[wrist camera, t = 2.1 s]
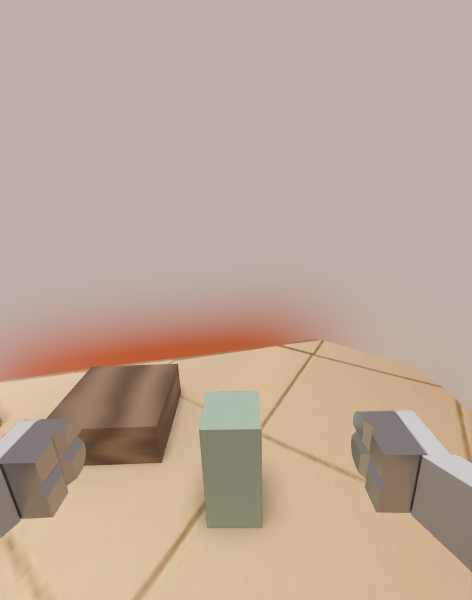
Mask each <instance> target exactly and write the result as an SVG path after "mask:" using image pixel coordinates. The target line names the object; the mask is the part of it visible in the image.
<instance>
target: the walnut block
mask: <svg viewBox="0 0 472 600" xmlns="http://www.w3.org/2000/svg"><path fill="white" fill-rule="evenodd" d="M180 394H181V389H180V380H179V370H178V364H163V365H134V366H106V367H91V368H90V369H89V371H88V372H87V373H86V374H85V375H84V376H83V377H82V379H81V380H80V381H79V382H78V383H77V384H76V385H75V387H74V388H73V389H72V390H71V391H70V392H69V393H68V395H67V396H66V397H65V398H64V399H63V400H62V401H61V403H60V404H59V405H58V406H57V407H56V408H55V409H54V411H53V412H52V413H51V414H50V415H49V416H48V417H47V418H46V419H74V420H77V421H78V422H79V426H80V429H81V431H80V433H79V434H78V437H79V438H80V439H81V440H82V441H83V442H84V444H85V448H86V458H85V462H84V465H83V466H85V465H113V464H141V463H162V459H163V456H164V452H165V448H166V445H167V441H168V437H169V434H170V430H171V426H172V423H173V419H174V416H175V412H176V408H177V405H178V401H179V397H180Z"/></svg>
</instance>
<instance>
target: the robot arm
mask: <svg viewBox="0 0 472 600" xmlns="http://www.w3.org/2000/svg"><path fill="white" fill-rule="evenodd" d="M353 424H354V426H355V428H356V430H357V431H356V432H355V433H354V434H353V435H352V440H351V448H352V456H353V459H354V463H355V465H356V468H357V470H358V472H359V473H360V474H361V475H362V476H364V477H365V478H366V484H365V488H366V491H367V493H368V495H369V497H370V499H371V502H372V504H373V506H374V508H375V510H376V512H389V513H411V515H412V516H413V517H414V518H415V519H416V520H417V521H418V522H419V523H420V524H421V525H423V526H424V527H425V528H426V529H427V530H428V531H429V532H430V533H431V534H432V535H433V536H434V537H435V538H436V539H437V540H439V541H440V542H441V543H442V544H443V545H444V546H445V547H446V548H447V549H448V550H449V551H450V552H451V553H452V554H453V555H455V556H456V557H457V558H458V559H459V560H460V561H461V562H462V563H463V564H464V565H465V566H466V567H467V568H468V569H469V570H470V571H472V463H471V462H469V461H467V460H465V459H463V458H462V457H460V456H458V455H450V453H449V452H448V451H447V450H446V449H445V448H444V446H443V445H442V444H441V443H440V442H439V441H438V439H437V438H436V437H435V436H434V435H433V434H432V432H431V431H430V430H429V429H428V428H427V427H426V425H425V424H424V423H423V422H422V421H421V420H420V418H419V417H418V416H417V415H416V414H415V413H414V412H413V411H412V410H410V409H406V410H391V411H366V412H355V414H354V418H353ZM80 431H81V429H80V426H79V422H78V421H77V420H74V419H41V420H39V419H28V420H23V421H20V422H18V423H17V424H16V425H15V426H14V427H13V428H12V429H11V430H10V431H9V432H8V433H7V434H6V435H5V436H4V437H3V438H2V439H1V440H0V538H1V537H2V536H4V535H5V534H6V533H7V532H8V531H9V530H10V529H12V528H13V527H14V526H15V525H16V524H17V523H19V522H20V519H27V518H48V517H54V515H55V513H56V512H57V510H58V508H59V507H60V505H61V503H62V502H63V500H64V499H65V497H66V495H67V494H68V489H67V485H68V484H70V483H71V482H72V481H74V480H75V479H76V478H77V477H78V475H79V474H80V472H81V470H82V469H83V465H84V462H85V458H86V448H85V444H84V442H83V441H82V440H81V439H80V438H79V437H78V434H79V433H80Z"/></svg>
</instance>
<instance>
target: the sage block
mask: <svg viewBox="0 0 472 600" xmlns="http://www.w3.org/2000/svg"><path fill="white" fill-rule="evenodd" d="M199 434H200V446H201V458H202V469H203V481H204V493H205V504H206V516H207V527H208V528H262V432H261V418H260V408H259V397H258V391H227V392H206V396H205V401H204V407H203V412H202V417H201V423H200V428H199Z"/></svg>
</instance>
